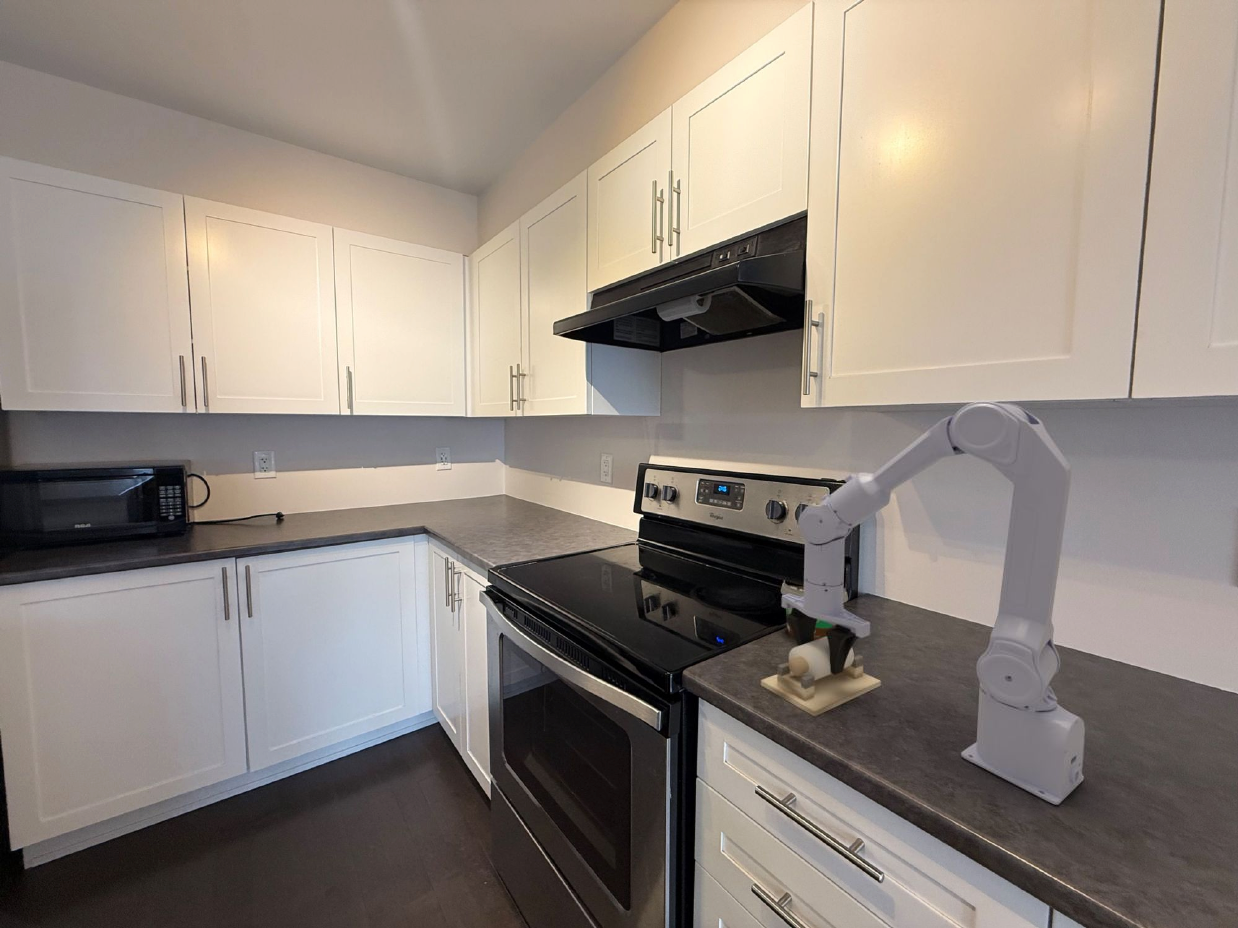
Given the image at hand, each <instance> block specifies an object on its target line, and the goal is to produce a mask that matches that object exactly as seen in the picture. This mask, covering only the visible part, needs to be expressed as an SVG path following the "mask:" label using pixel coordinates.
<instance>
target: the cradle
mask: <svg viewBox="0 0 1238 928" xmlns="http://www.w3.org/2000/svg"><path fill="white" fill-rule="evenodd" d="M788 664H789V662H783V663H780V664H778V665H777V669H776V670H777V674H774V675H771V676H769V677H766V678H763V679H760V686H761V687H763V688H765V689H767V690H768V691H770V692H771V693H774V695H777V696H779V697H780V698H782V699H783V700H784V701H785V700H786V701H787V702H789V703H791V704H792V705H793V706H795V707H798V708H799V709H801V710H802V711H804V712H806V713H808V714H809V715H810V716H813V718H814V717H817V716H819V715H821V714H823V713H825V712H827V711H829V710H832V709H834V708H836V707H838V706H840V705H843V704H845V703H847V702H849V701H851V700H853V699H855V698H857V697H860V696H862V695H863V694H866V693H868V692H870V691H872V690H875V689H876V688H878V687H881V684H882V681H881V680H880V679H878V678H875V677H873V676H871V675H869V674H867V673H864V656H863V655H860V654H857V655H854V660H853V663H852V664H851V665H850V666H849V667H846V668H844V669H843V672H841V673H838V674H836V675H834V674H829V675H827V676H824V677H822V678H820V679H817V680H815V681H814V679H815V677H814V676H812V675H810V674H809V675H807V676H804V677H802V678H799V677H797V676H795V675H794V674H793V673H792V672H791V671H790V669H789V665H788Z"/></svg>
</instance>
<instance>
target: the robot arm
mask: <svg viewBox="0 0 1238 928" xmlns="http://www.w3.org/2000/svg"><path fill="white" fill-rule="evenodd" d="M967 454H968V455H970V456H973V457H975V458H976V459H979V460H981V461H984V462H986V463H988V464H990V465H991V466H992V467H993V468H995V469H996V470H997V471H998V472H999V473H1001V475H1003V476H1004V477H1005V478H1006V479H1008V480H1009V481H1010V482H1011V483H1012V485H1013V491H1012V492H1013V493H1012V500H1011V506H1010V515H1009V523H1008V524H1009V525H1008V533H1007V540H1006V547H1005V556H1004V563H1003V571H1002V573H1003V574H1002V579H1001V589H1000V595H999V596H1000V597H999V604H998V611H997V612H998V613H997V616H996V619H995V621H994V625H993V627H992V629H991V633H990V638H989V644H988V647H987V648H986V650H985V652H983V653H982V655H981V656H980V657H979V658H978V660H977V662H976V675H977V678H978V680H979V691H978V692H979V693H978V709H977V710H978V713H977V729H976V742H973V744H971V745H970V746H968V747H967V748H965V749H964V750H962V751H961V753H960V755H961V757H962V758H964V759H965V760H967V761H968V762H971V763H972V764H975V765H977V766H979V767H981V768H983V769H985V770H987V771H988V772H990V773H992V774H993V775H996V776H998V777H1000V778H1002V779H1004V780H1006V781H1008V782H1010V783H1012V784H1013V785H1015V786H1018V787H1019V788H1021V789H1024V791H1027V792H1029V793H1031V794H1033V795H1035V796H1037V797H1039V798H1041V799H1043V800H1045V801H1046V802H1048V803H1051V804H1053V805H1057V806H1058V805H1060V804H1061V803H1062V802H1063V801H1064V800H1065V799H1066V798H1067V796H1069V795H1070V794H1071V793H1072V792H1073V791H1074V790H1075V789H1076V788H1077V786H1079V785H1080V784H1081V783H1082V782H1083V781H1084V775H1083V763H1084V751H1085V750H1084V749H1085V736H1086V735H1085V733H1086V727H1085V722H1084V720H1083V718H1082V717H1080V716H1078V715H1076V714H1074V713H1072V712H1070V711H1068V710H1066V709H1065V708H1063V707H1062V706H1061V705H1060V704H1058V697H1057V696H1055V692H1054V691H1053V688H1052V687H1051V685H1050V682H1051V681H1052V679H1053V677H1054V676H1056V675H1057V674H1058V672H1059V670H1060V666H1061V658H1060V654H1059V653H1058V651H1057V648H1056V647H1055V644H1054V631H1055V627H1054V624H1053V621H1052V619H1053V618H1052V617H1053V611H1054V610H1053V609H1054V603H1055V595H1056V588H1057V580H1058V574H1059V567H1060V559H1061V552H1062V544H1063V539H1064V538H1063V537H1064V531H1065V523H1066V518H1067V508H1068V503H1069V502H1068V500H1069V495H1070V487H1071V486H1070V485H1071V479H1072V469H1071V466H1070V464H1069V463H1068V461H1067V459H1066V458H1065V457H1064V455H1063V454H1062V452H1061V450H1060V449H1059V448H1058V446H1057V445H1056V443H1055V442H1054V440H1053V439H1052V438H1051V436H1050V434H1049V433H1048V432H1047V431H1046V428H1045V426H1044V424H1043V421H1042V420H1040V419H1039V418H1038V417H1036V416H1035V415H1034V414H1032V413H1031V412H1029V411H1027V410H1026V409H1025V408H1023V407H1021V406H1019V405H1016V404H1014V403H1009V402H994V401H990V400H979V401H974V402H971V403H968V404H966V405H965V406H962V407H961V408H960V409H959V410H957V412H956V413H955V415H949V416H948V417H945V418H943V419H942V420H940V421H939V422H937V423H936V424H934V425H933V426H932V427H931V428H929V429H928V430H927V431H925V433H923V434H922V435H920V436H919V437H918V438H917V439H915V440H914V441H913V442H912V443H911V444H909V445H908V446H907V447H905V448H904V449H903V450H902V451H900V453H897V455H896V456H894V457H893V458H891V459H890V460H889V461H888V462H886V464H884V465H883V466H882V467H880V468H879V469H878V470H876V471H875V472H874V473H871V472H859V473H857V474H856V473H852V474H849V475H848V476H846V477H845V478H844V481H845V483H844V484H842V485H841V486H840V487H839V488H837V489H836V490H835V491H833V492H832V493H831V494H830V493H829V494H828V493H827V494H825V495H823V496H822V497H821V504H813V505H808V506H806V507H805V508H804V510H803V511H802V512H801V513H800V515H799V517H798V522H797V525H798V530H799V533H800V534H801V536H802V538H804V562H803V563H804V564H803V568H804V570H803V587H804V597H799V596H795V595H792V594H787V595H783V594H782V595H781V607H782V608H784V609H786V608H791V609H792V612H791V614H788V615H787V616H786V615H785V617H786V622H787V621H788V623H789V625H790V626H791V628H792V631H793V633H794V635H795V638H796V639H795V638H794V639H795V641H796V645H797V647H798V646H800V645H803V644H806V643H809V642H812V641H814V631H815V626H816V622H817V619H819V620H822V621H824V622H827V623H830V624H832V625H835V628H833V629H830V630H827V631H826V636H827V639H828V643H829V649H830V667H831V669H830V671H831V673H832V674H834V675H836V674H838V673H841V672H843V669H844V665H845V662H846V659H847V656H848V654H849V652H850V650H851V648H852V649H853V646H854V644H855V643H856V642H857V639H858V638H860V639H863V638H865V637H868V636H870V635H871V622H870V621H867V620H864V619H862V618H861V617H859V616H857V615H855V614H854V613H852V612H850V611H849V610H846V608H844V604H843V590H844V585H845V584H844V581H845V579H844V577H845V575H844V574H845V547H846V546H845V543H846V542H845V541H846V537H848V535H850V534H851V532H852V530H853V528H855V527H857V526H858V525H860V524H861V523H862V522H864V521H866V520H867V519H869V518H870V517H872V516H874V514H876V513H878V512H879V511H881V510H882V509H884V508H885V507H887V506H888V505H889V504H890V500H891V493H892V491H894V490H895V489H896V488H898V487H899V486H901V485H903V484H904V483H906V482H908V481H910V480H911V479H912V478H914V477H916V476H917V475H919V474H920V473H922V472H923V471H925V470H927V469H928V468H930V467H931V466H933V465H934V464H936V463H938V462H939V461H940V460H942V459H944V458H950V457H956V456H962V455H963V456H964V455H967Z"/></svg>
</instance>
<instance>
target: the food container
mask: <svg viewBox="0 0 1238 928" xmlns="http://www.w3.org/2000/svg"><path fill="white" fill-rule="evenodd" d="M780 593H781V594H782V596H783V595H787V594H792V595H795V596H799V597H804V586H798V585H790V584H789V585H788V584H787V583H786V581H785V579H784V580H783V583H782V585H781V588H780ZM848 601H849V597H848V592H847V591H846V588H843V605H844V604H845V603H846V602H848ZM791 612H792V609H791V608H785V614H786V615H785V617H786V616H787V615H788V614H791ZM833 628H835V625H832V624H830V623H827V622H824V621H822V620H819V619H817V622H816V626H815V631H814V641H815V640H818V639H821V638H823V637H826V631H827V630H830V629H833ZM786 629H787V632H788V634H789V636H791V637H792V638H793V639H795V640H796V638H795V635H794V633H793V631H792V628H791V626H790V625H789V623H788V621H787V620H786Z"/></svg>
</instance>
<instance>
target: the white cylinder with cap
mask: <svg viewBox="0 0 1238 928" xmlns="http://www.w3.org/2000/svg"><path fill="white" fill-rule="evenodd" d="M854 657H855V653H854V649H853V647H852V648H851V650H850V652H849V654H848V656H847V659H846V662H845V665H844V668H846V667H849V666H850V665H851V664H852V663H853V660H854ZM788 663H789V664H788V665H789V669H790V671H791V672H792V673H793V674H794V675H795V676H797V677H799V678H802V677H804V676H807V675H809V674H810V675H812V676H814V677H815V679H814V681H815V680H817V679H820V678H822V677H824V676H827V675H829V674H832V673H831V671H830V669H831V667H830V649H829V643H828V639H827V636H826V637H823V638H821V639H818V640H815V641H812V642H809V643H806V644H803V645H800V646H798V645H797V646H795V647H792V649H791V650H790V651H789V653H788Z"/></svg>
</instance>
